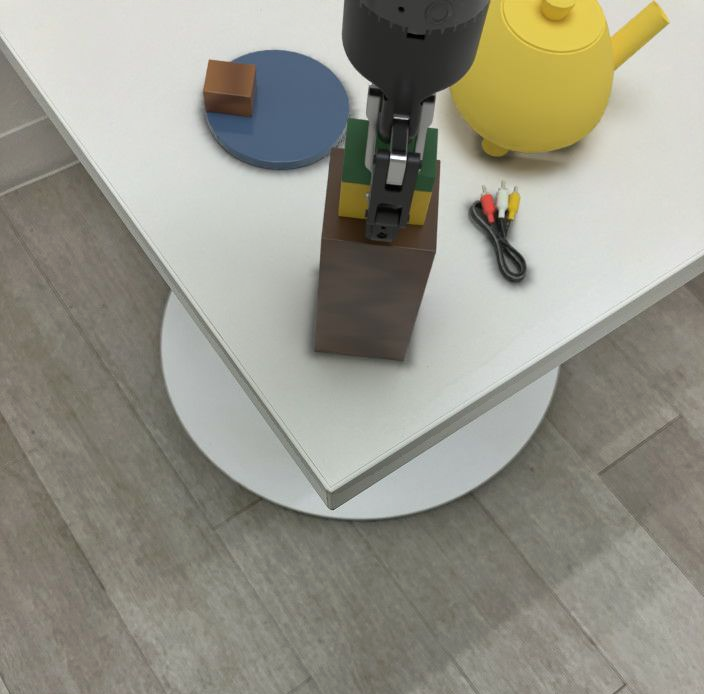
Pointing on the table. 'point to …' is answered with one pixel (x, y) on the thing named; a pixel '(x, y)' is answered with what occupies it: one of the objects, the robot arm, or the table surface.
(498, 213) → the composite cable
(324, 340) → the tall dark wooden block
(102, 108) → the table surface
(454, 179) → the table surface
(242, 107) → the brown square block
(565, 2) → the teapot
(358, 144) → the sponge
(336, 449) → the table surface
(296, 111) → the plate
